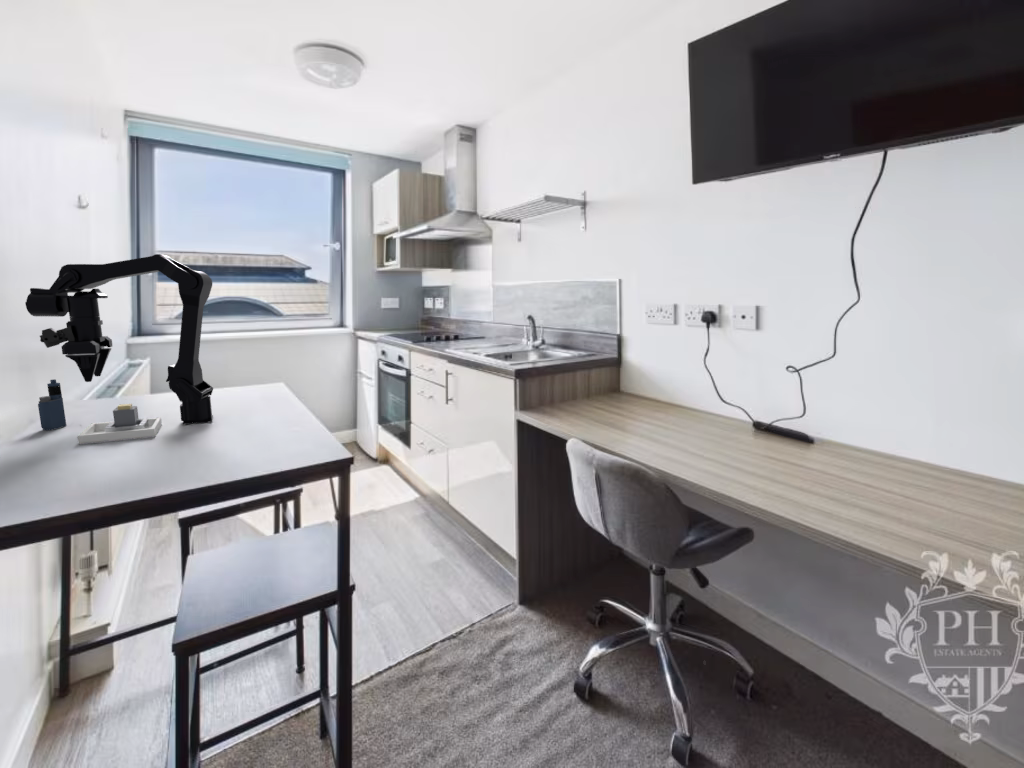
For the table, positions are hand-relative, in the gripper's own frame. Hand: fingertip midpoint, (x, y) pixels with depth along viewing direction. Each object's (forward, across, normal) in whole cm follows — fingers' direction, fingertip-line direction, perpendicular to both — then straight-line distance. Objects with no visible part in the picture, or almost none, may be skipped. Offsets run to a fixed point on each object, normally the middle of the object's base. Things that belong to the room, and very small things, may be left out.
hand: (93, 378), depth 124 cm
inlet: (+12, +13, +8) cm, 19 cm away
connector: (+12, +13, +8) cm, 19 cm away
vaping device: (+12, -1, -9) cm, 15 cm away
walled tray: (+12, +13, +7) cm, 19 cm away
